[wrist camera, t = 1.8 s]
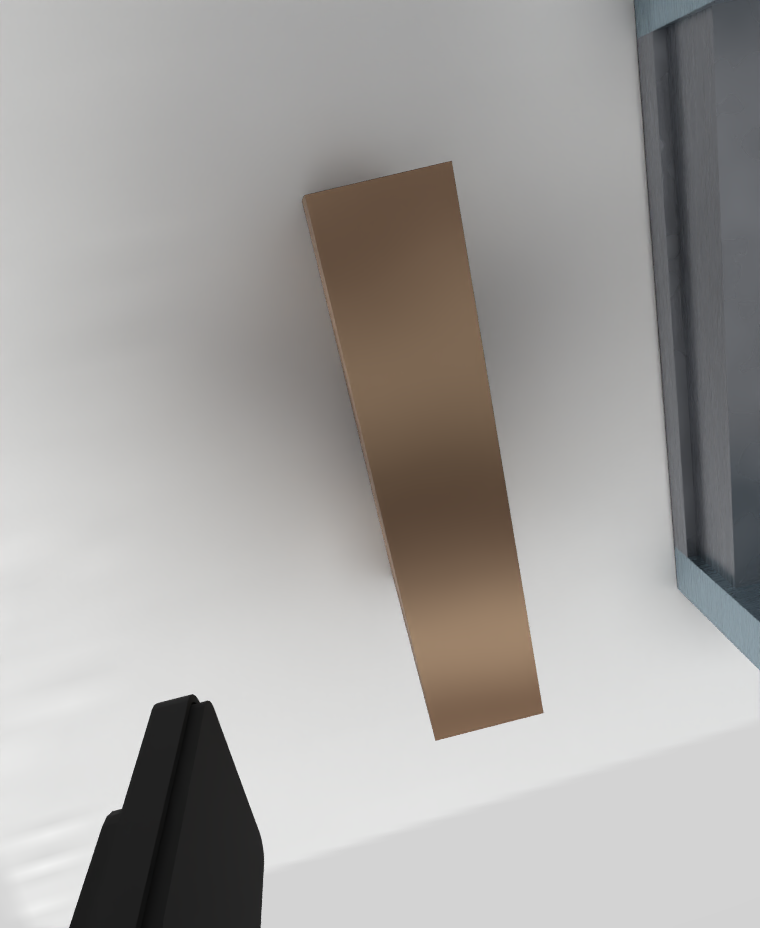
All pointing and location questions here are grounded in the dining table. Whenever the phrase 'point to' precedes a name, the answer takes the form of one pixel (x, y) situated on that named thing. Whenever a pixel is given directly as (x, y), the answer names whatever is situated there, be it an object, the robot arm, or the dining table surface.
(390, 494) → the brown rectangular block
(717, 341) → the door track
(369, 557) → the dining table surface
